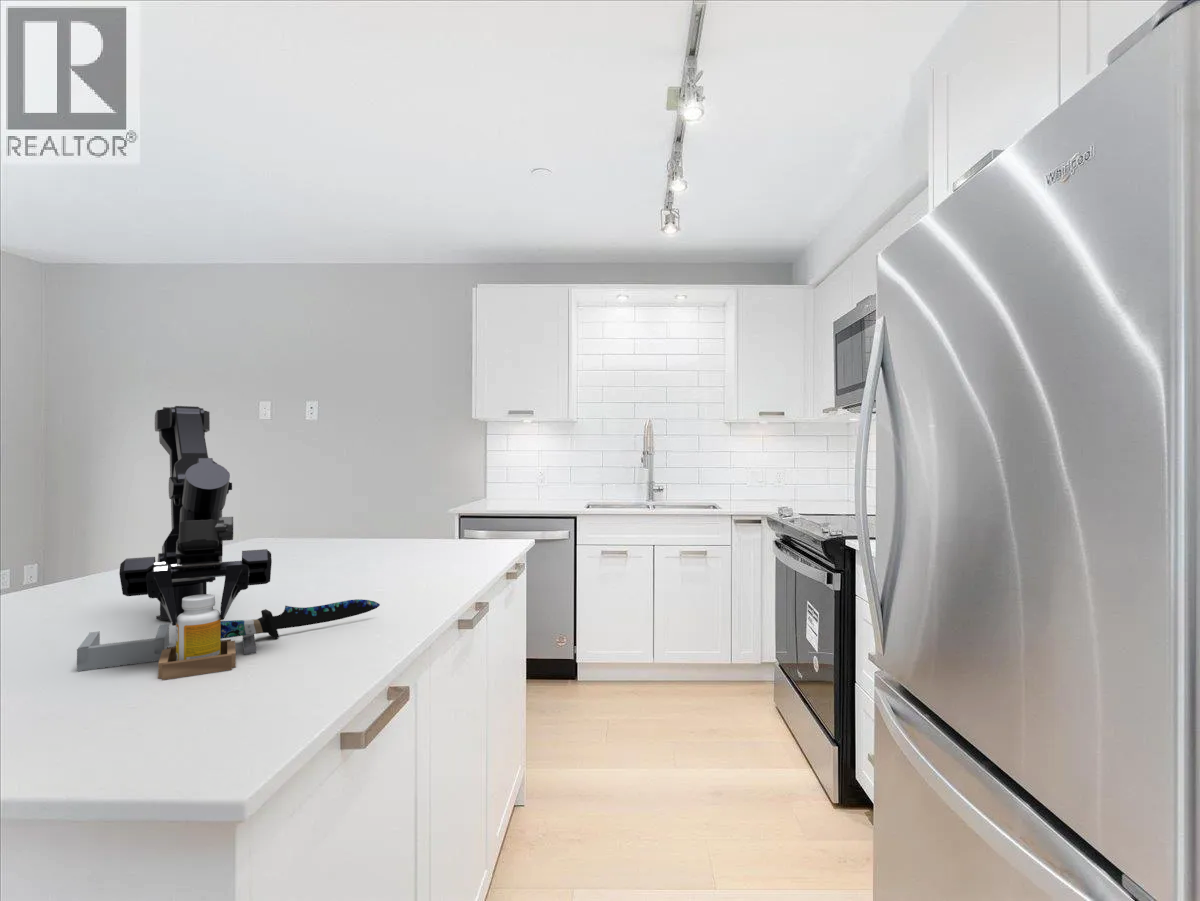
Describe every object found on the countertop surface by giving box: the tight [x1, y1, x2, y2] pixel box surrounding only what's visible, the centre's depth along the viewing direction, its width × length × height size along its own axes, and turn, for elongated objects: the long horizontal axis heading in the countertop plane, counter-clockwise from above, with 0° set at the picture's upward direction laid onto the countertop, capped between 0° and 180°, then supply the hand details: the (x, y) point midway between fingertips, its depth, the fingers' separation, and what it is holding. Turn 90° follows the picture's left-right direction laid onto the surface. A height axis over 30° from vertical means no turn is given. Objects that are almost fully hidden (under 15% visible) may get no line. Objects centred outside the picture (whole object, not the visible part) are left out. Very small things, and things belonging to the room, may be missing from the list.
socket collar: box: [157, 638, 237, 681], centre depth 92 cm, size 9×9×2 cm
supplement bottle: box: [175, 593, 222, 661], centre depth 92 cm, size 5×5×10 cm
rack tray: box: [76, 623, 170, 672], centre depth 96 cm, size 10×10×3 cm
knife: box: [221, 599, 381, 640], centre depth 108 cm, size 31×3×4 cm, turn 131°
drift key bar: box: [242, 634, 257, 655], centre depth 101 cm, size 8×2×1 cm, turn 30°
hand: (198, 621), depth 91 cm, fingers closed on supplement bottle, 5 cm apart
